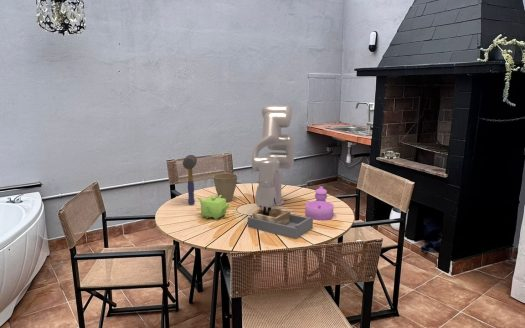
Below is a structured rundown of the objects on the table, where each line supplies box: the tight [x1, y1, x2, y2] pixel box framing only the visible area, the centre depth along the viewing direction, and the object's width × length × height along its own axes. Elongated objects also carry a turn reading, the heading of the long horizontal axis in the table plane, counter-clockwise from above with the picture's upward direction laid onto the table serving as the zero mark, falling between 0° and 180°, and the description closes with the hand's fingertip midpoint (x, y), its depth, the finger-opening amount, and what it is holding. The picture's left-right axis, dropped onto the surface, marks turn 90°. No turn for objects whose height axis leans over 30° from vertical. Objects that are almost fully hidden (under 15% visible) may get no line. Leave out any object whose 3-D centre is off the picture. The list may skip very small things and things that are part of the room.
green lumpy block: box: [197, 195, 231, 220], centre depth 206 cm, size 15×14×11 cm
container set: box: [304, 185, 334, 221], centre depth 212 cm, size 25×15×13 cm, turn 168°
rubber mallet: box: [182, 154, 198, 206], centre depth 226 cm, size 12×8×30 cm, turn 3°
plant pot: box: [212, 172, 238, 203], centre depth 235 cm, size 15×15×16 cm
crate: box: [252, 207, 291, 225], centre depth 193 cm, size 14×14×6 cm
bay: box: [247, 213, 314, 240], centre depth 190 cm, size 28×17×6 cm, turn 56°
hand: (266, 218), depth 195 cm, fingers closed
